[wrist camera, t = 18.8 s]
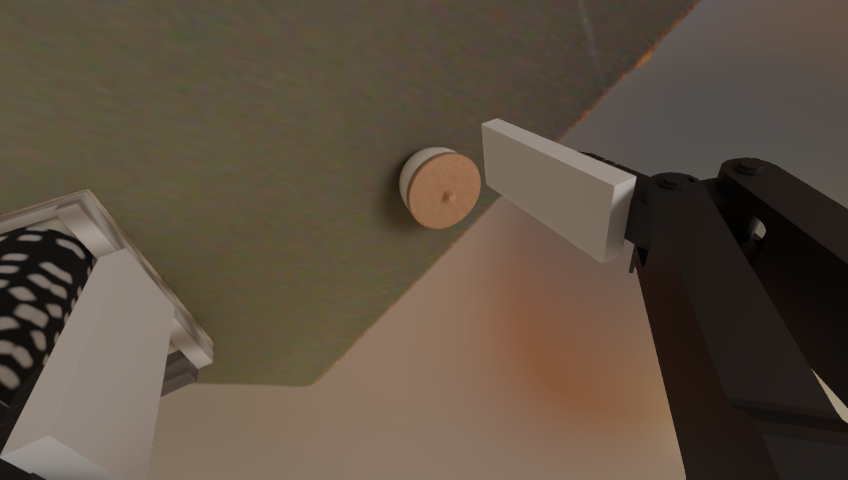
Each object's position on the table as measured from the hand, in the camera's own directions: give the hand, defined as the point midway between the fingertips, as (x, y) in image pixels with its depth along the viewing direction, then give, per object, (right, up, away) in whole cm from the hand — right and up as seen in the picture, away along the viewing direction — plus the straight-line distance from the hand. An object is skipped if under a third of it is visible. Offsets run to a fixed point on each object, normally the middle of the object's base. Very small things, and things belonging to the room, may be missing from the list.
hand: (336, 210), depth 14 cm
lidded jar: (+3, +9, +41) cm, 42 cm away
